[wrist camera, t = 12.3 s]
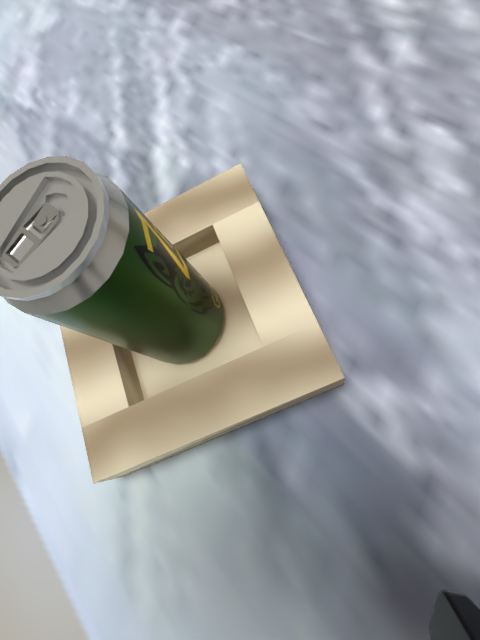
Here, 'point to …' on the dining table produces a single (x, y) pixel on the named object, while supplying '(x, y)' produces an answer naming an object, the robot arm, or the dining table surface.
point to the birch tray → (222, 358)
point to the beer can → (100, 264)
